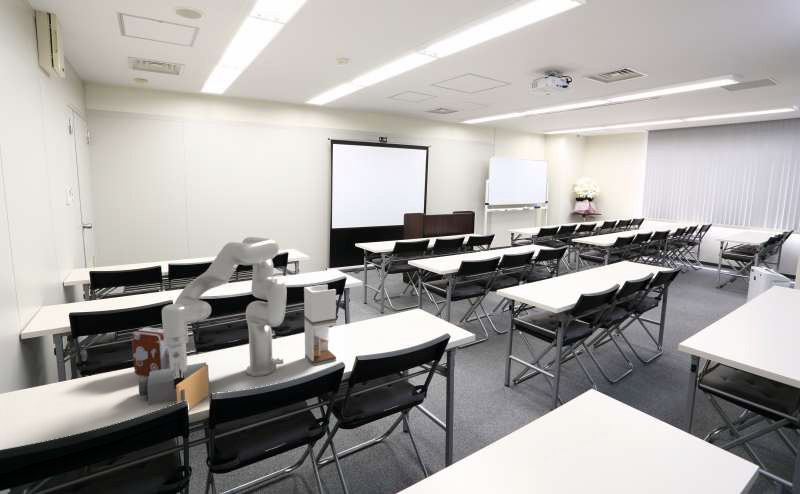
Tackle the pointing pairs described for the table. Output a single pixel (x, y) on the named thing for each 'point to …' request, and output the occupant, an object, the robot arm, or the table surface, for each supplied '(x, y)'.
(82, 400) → the table surface
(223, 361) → the table surface
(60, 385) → the table surface
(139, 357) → the red printed upright box
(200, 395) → the side door
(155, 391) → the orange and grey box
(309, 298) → the display case
